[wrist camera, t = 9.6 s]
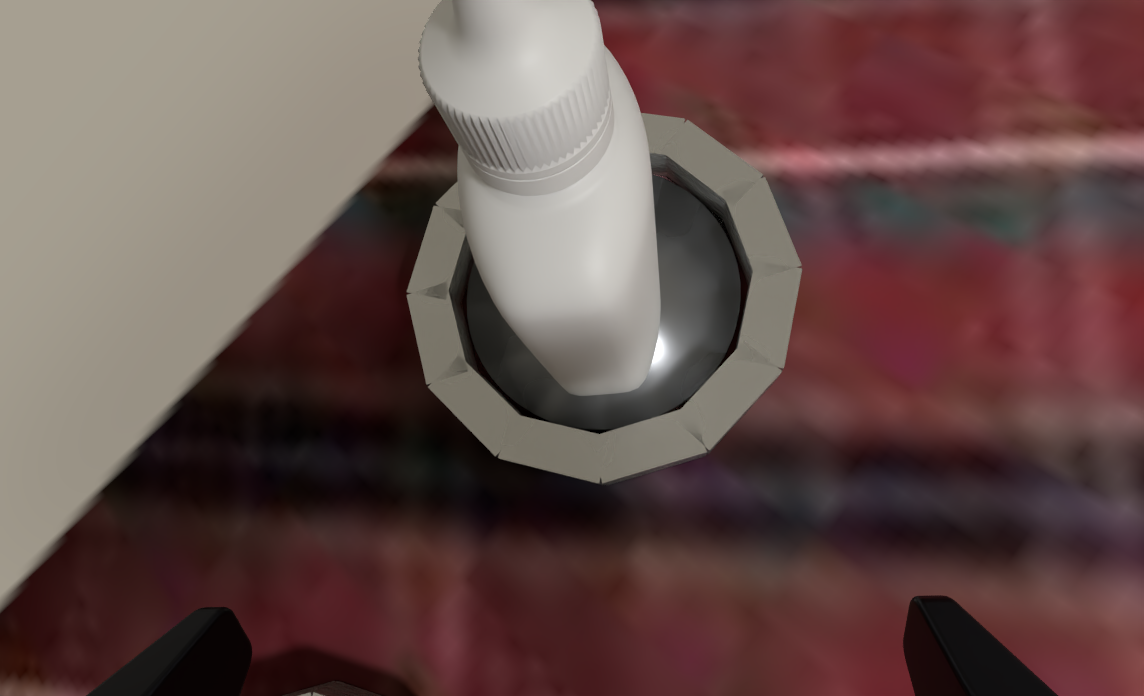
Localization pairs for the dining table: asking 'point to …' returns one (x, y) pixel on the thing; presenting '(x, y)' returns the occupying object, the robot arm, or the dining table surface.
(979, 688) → the robot arm
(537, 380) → the collar
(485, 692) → the dining table surface
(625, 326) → the eye dropper bottle
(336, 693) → the collar
